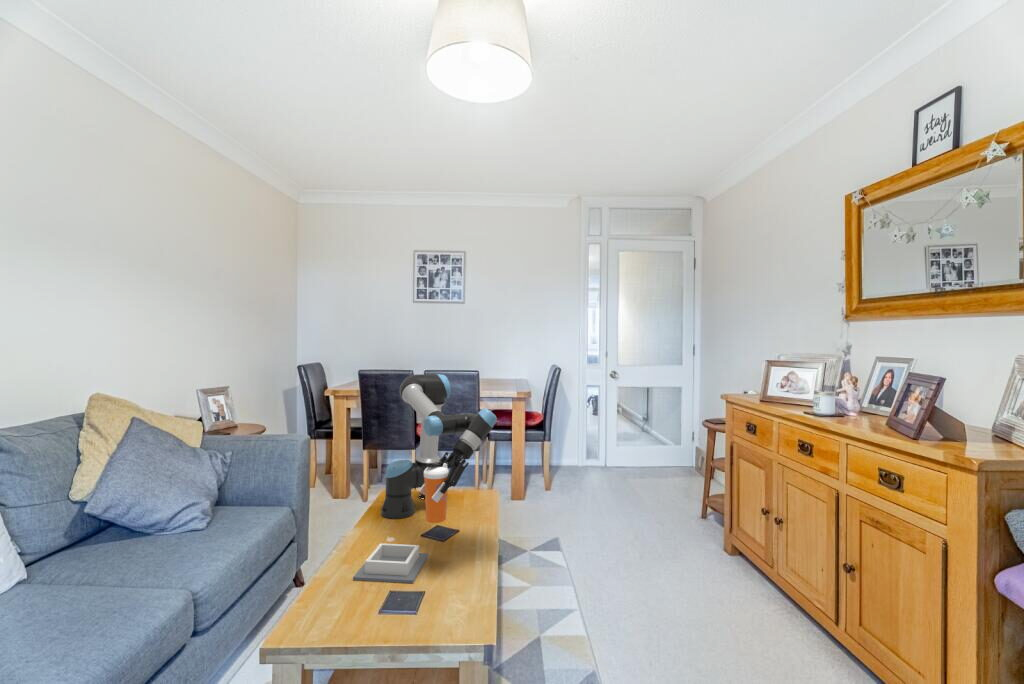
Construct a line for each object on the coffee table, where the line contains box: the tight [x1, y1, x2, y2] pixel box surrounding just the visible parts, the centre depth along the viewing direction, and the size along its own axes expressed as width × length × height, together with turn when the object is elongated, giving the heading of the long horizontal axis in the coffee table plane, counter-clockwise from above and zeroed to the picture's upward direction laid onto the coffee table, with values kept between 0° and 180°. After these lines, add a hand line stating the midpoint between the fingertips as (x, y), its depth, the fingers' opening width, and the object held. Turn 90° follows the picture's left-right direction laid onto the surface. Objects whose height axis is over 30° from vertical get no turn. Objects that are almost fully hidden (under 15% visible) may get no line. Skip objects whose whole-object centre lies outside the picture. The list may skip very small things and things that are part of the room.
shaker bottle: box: [424, 461, 450, 524], centre depth 165 cm, size 9×9×20 cm
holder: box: [352, 543, 429, 584], centre depth 160 cm, size 20×20×5 cm
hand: (427, 496), depth 163 cm, fingers closed on shaker bottle, 9 cm apart
